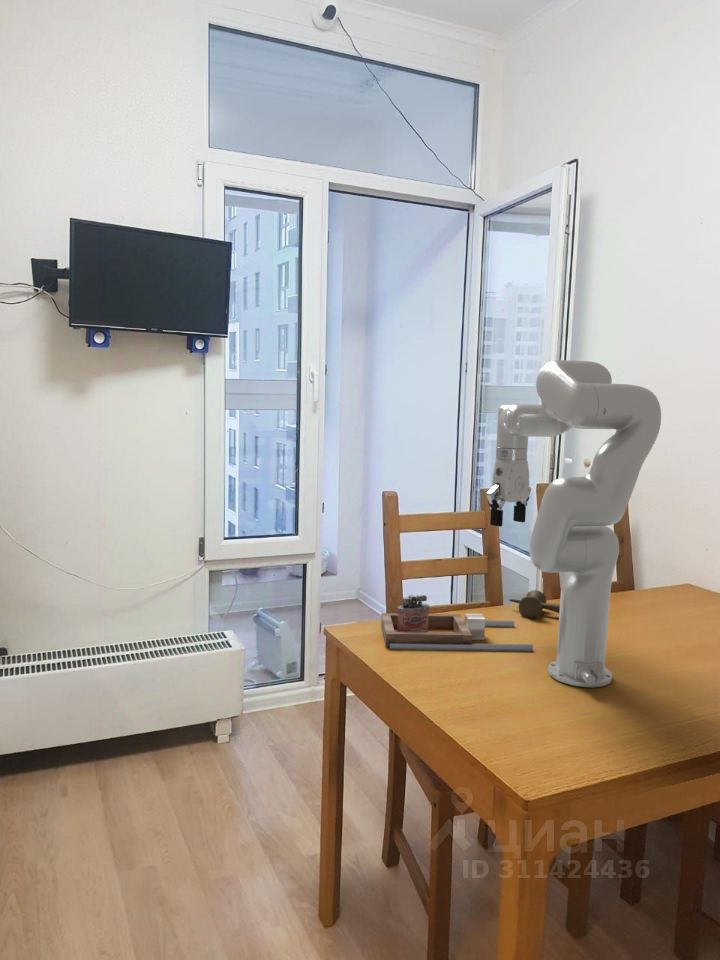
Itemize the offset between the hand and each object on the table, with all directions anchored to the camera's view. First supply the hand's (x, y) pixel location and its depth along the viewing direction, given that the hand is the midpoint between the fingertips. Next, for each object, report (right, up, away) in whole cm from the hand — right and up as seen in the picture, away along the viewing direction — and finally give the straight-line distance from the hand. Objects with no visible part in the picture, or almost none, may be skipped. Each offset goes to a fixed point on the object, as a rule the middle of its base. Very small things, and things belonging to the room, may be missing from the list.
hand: (507, 523), depth 179 cm
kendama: (+12, -25, +9) cm, 29 cm away
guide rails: (-15, -26, -11) cm, 32 cm away
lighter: (-25, -26, -11) cm, 38 cm away
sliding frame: (-20, -26, -11) cm, 34 cm away
